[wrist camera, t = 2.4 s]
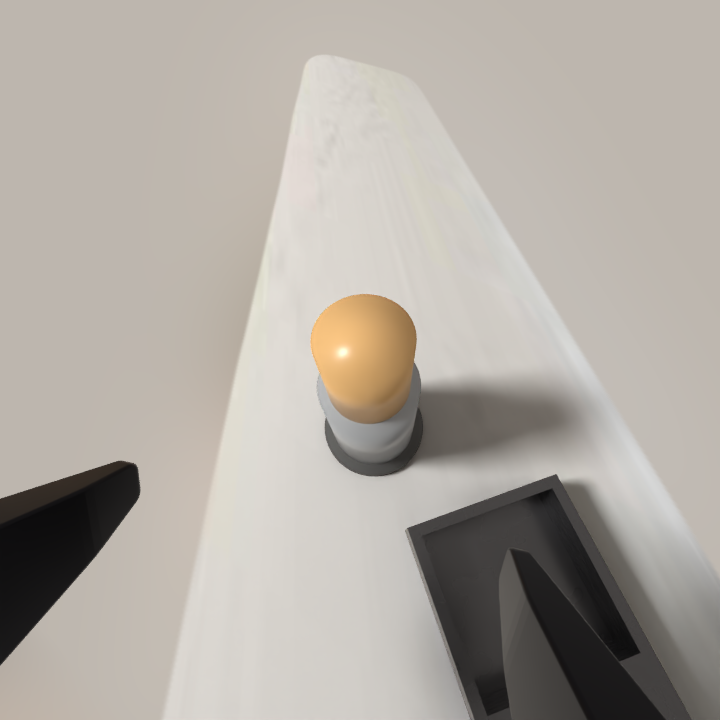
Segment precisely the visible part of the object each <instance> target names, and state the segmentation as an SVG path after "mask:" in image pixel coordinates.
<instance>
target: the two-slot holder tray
mask: <svg viewBox="0 0 720 720" xmlns="http://www.w3.org/2000/svg"><path fill="white" fill-rule="evenodd" d="M405 532H406V535H407V538H408V540H409V543H410V546H411V549H412V552H413V555H414V558H415V561H416V563H417V566H418V569H419V572H420V575H421V578H422V581H423V584H424V586H425V589H426V592H427V595H428V598H429V601H430V604H431V607H432V610H433V612H434V615H435V618H436V621H437V624H438V627H439V630H440V633H441V635H442V638H443V641H444V644H445V647H446V650H447V653H448V656H449V659H450V661H451V664H452V667H453V670H454V673H455V676H456V679H457V682H458V684H459V687H460V690H461V693H462V696H463V699H464V702H465V705H466V707H467V710H468V713H469V716H470V719H471V720H512V716H511V710H510V704H509V698H508V692H507V685H506V679H505V672H504V664H503V651H502V634H501V617H500V600H499V577H500V572H501V569H502V566H503V562H504V559H505V556H506V552H507V550H508V549H509V548H511V547H513V548H517V549H522V550H526V551H528V552H530V553H531V554H532V555H533V557H534V558H535V559H536V560H537V561H538V563H539V564H540V565H541V566H542V568H543V569H544V570H545V571H546V572H547V574H548V575H549V576H550V577H551V579H552V580H553V581H554V582H555V583H556V585H557V586H558V587H559V588H560V590H561V591H562V592H563V593H564V595H565V596H566V597H567V598H568V599H569V601H570V602H571V603H572V604H573V606H574V607H575V608H576V609H577V610H578V612H579V613H580V614H581V615H582V617H583V618H584V619H585V620H586V621H587V623H588V624H589V625H590V626H591V628H592V629H593V630H594V631H595V633H596V634H597V635H598V636H599V637H600V639H601V640H602V641H603V642H604V644H605V645H606V646H607V647H608V648H609V650H610V651H611V652H612V653H613V655H614V656H615V657H616V658H617V659H618V661H619V662H620V663H621V664H622V666H623V667H624V668H625V669H626V671H627V672H628V673H629V674H630V675H631V677H632V678H633V679H634V680H635V682H636V683H637V684H638V685H639V686H640V688H641V689H642V690H643V691H644V693H645V694H646V695H647V696H648V697H649V699H650V700H651V701H652V702H653V704H654V705H655V706H656V707H657V709H658V710H659V711H660V712H661V713H662V715H663V716H664V717H665V718H666V720H691V718H690V716H689V714H688V713H687V711H686V709H685V707H684V705H683V703H682V702H681V700H680V698H679V696H678V694H677V693H676V691H675V689H674V687H673V685H672V683H671V682H670V680H669V678H668V676H667V674H666V673H665V671H664V669H663V667H662V665H661V663H660V662H659V660H658V658H657V656H656V654H655V653H654V651H653V649H652V647H651V645H650V644H649V642H648V640H647V638H646V636H645V634H644V633H643V631H642V629H641V627H640V625H639V624H638V622H637V620H636V618H635V616H634V614H633V613H632V611H631V609H630V607H629V605H628V604H627V602H626V600H625V598H624V596H623V594H622V593H621V591H620V589H619V587H618V585H617V584H616V582H615V580H614V578H613V576H612V574H611V573H610V571H609V569H608V567H607V565H606V564H605V562H604V560H603V558H602V556H601V554H600V553H599V551H598V549H597V547H596V545H595V544H594V542H593V540H592V538H591V536H590V534H589V533H588V531H587V529H586V527H585V525H584V524H583V522H582V520H581V518H580V516H579V515H578V513H577V511H576V509H575V507H574V505H573V504H572V502H571V500H570V498H569V496H568V495H567V493H566V491H565V489H564V487H563V485H562V484H561V482H560V480H559V478H558V476H557V475H556V474H555V475H553V476H550V477H547V478H544V479H542V480H539V481H536V482H533V483H531V484H528V485H525V486H522V487H520V488H517V489H514V490H511V491H509V492H506V493H503V494H500V495H497V496H495V497H492V498H489V499H486V500H484V501H481V502H478V503H475V504H473V505H470V506H467V507H464V508H462V509H459V510H456V511H453V512H451V513H448V514H445V515H442V516H440V517H437V518H434V519H431V520H429V521H426V522H423V523H420V524H418V525H415V526H412V527H409V528H407V529H406V530H405Z"/></svg>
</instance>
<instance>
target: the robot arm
mask: <svg viewBox="0 0 720 720" xmlns="http://www.w3.org/2000/svg"><path fill="white" fill-rule="evenodd" d="M139 495H140V482H139V473H138V467H137V466H136V464H134V463H130V462H126V461H116V462H113V463H110V464H107V465H104V466H101V467H98V468H95V469H92V470H88V471H85V472H83V473H79V474H76V475H73V476H70V477H67V478H63V479H60V480H57V481H54V482H51V483H48V484H45V485H42V486H39V487H35V488H32V489H29V490H26V491H23V492H20V493H17V494H14V495H11V496H7V497H4V498H1V499H0V665H1V664H2V663H3V662H4V661H5V660H6V658H7V657H8V656H9V655H10V654H11V653H12V652H13V650H14V649H15V648H16V647H17V646H18V645H19V644H20V642H21V641H22V640H23V639H24V638H25V637H26V636H27V635H28V633H29V632H30V631H31V630H32V629H33V628H34V627H35V625H36V624H37V623H38V622H39V621H40V620H41V619H42V617H43V616H44V615H45V614H46V613H47V612H48V611H49V609H50V608H51V607H52V606H53V605H54V604H55V602H56V601H57V600H58V599H59V598H60V597H61V596H62V595H63V593H64V592H65V591H66V590H67V589H68V588H69V587H70V585H71V584H72V583H73V582H74V581H75V580H76V578H77V577H78V576H79V575H80V574H81V573H82V572H83V571H84V570H85V568H86V567H87V566H88V565H89V564H90V562H91V561H92V560H93V559H94V558H95V557H96V555H97V554H98V553H99V551H100V550H101V549H102V548H103V546H104V545H105V543H106V542H107V541H108V540H109V538H110V537H111V535H112V534H113V533H114V531H115V530H116V528H117V527H118V526H119V525H120V523H121V522H122V520H123V519H124V518H125V516H126V515H127V514H128V512H129V511H130V510H131V508H132V507H133V506H134V504H135V503H136V501H137V500H138V498H139ZM499 600H500V617H501V634H502V651H503V664H504V672H505V679H506V685H507V692H508V698H509V704H510V710H511V716H512V720H666V718H665V717H664V716H663V715H662V713H661V712H660V711H659V710H658V709H657V707H656V706H655V705H654V704H653V702H652V701H651V700H650V699H649V697H648V696H647V695H646V694H645V693H644V691H643V690H642V689H641V688H640V686H639V685H638V684H637V683H636V682H635V680H634V679H633V678H632V677H631V675H630V674H629V673H628V672H627V671H626V669H625V668H624V667H623V666H622V664H621V663H620V662H619V661H618V659H617V658H616V657H615V656H614V655H613V653H612V652H611V651H610V650H609V648H608V647H607V646H606V645H605V644H604V642H603V641H602V640H601V639H600V637H599V636H598V635H597V634H596V633H595V631H594V630H593V629H592V628H591V626H590V625H589V624H588V623H587V621H586V620H585V619H584V618H583V617H582V615H581V614H580V613H579V612H578V610H577V609H576V608H575V607H574V606H573V604H572V603H571V602H570V601H569V599H568V598H567V597H566V596H565V595H564V593H563V592H562V591H561V590H560V588H559V587H558V586H557V585H556V583H555V582H554V581H553V580H552V579H551V577H550V576H549V575H548V574H547V572H546V571H545V570H544V569H543V568H542V566H541V565H540V564H539V563H538V561H537V560H536V559H535V558H534V557H533V555H532V554H531V553H530V552H528V551H526V550H522V549H517V548H513V547H511V548H509V549H508V550H507V552H506V556H505V559H504V562H503V566H502V569H501V572H500V577H499Z"/></svg>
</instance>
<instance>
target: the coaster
mask: <svg viewBox="0 0 720 720" xmlns="http://www.w3.org/2000/svg"><path fill="white" fill-rule="evenodd" d="M422 430H423V424H422V417H421V413H420V410H419V408H418V407H417V412H416V417H415V422H414V427H413V432H412V436H411V439H410V442H409V444H408V446H407V447H406V448H405V450H404V451H403V452H402V453H401V454H400V455H399V456H398V457H396V458H395V459H393V460H391V461H389V462H386V463H383V464H364V463H361V462H358V461H356V460H354V459H352V458H351V457H349V456H348V455H347V454H346V453H345V452H344V451H343V450H342V448H341V447H340V445H339V444H338V442H337V440H336V437H335V435H334V433H333V431H332V429H331V427H330V424H329V422H328V420H327V418H326V420H325V435H326V440H327V443H328V446H329V448H330V450H331V452H332V453H333V455H334V456H335V458H336V459H337V460H338V461H339V462H340V463H341V464H342V465H343V466H345V467H346V468H348V469H349V470H351V471H353V472H355V473H358V474H361V475H366V476H382V475H386V474H390V473H392V472H395V471H397V470H398V469H400V468H402V467H403V466H404V465H406V464H407V463H408V462H409V461H410V460H411V459H412V457H413V456H414V454H415V453H416V451H417V449H418V447H419V444H420V441H421V437H422Z"/></svg>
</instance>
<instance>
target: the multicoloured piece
mask: <svg viewBox="0 0 720 720" xmlns="http://www.w3.org/2000/svg"><path fill="white" fill-rule="evenodd" d="M416 341H417V338H416V330H415V326H414V324H413V321H412V319H411V318H410V316H409V315H408V313H407V312H406V311H405V310H404V309H403V308H402V307H401V306H399V305H398V304H397V303H395V302H393V301H392V300H390V299H387V298H385V297H381V296H377V295H370V294H360V295H353V296H349V297H346V298H343V299H341V300H339V301H337V302H335V303H333V304H332V305H330V306H329V307H328V308H327V309H325V310H324V312H323V313H322V314H321V315H320V316H319V318H318V319H317V321H316V323H315V324H314V327H313V330H312V334H311V350H312V354H313V357H314V359H315V362H316V365H317V367H318V370H319V372H320V373H319V376H318V381H317V394H318V399H319V402H320V405H321V407H322V409H323V411H324V414H325V416H326V418H327V420H328V422H329V424H330V427H331V429H332V431H333V433H334V435H335V437H336V440H337V442H338V444H339V445H340V447H341V448H342V450H343V451H344V452H345V453H346V454H347V455H348V456H349V457H351V458H352V459H354V460H356V461H358V462H361V463H364V464H383V463H386V462H389V461H391V460H393V459H395V458H396V457H398V456H399V455H400V454H401V453H402V452H403V451H404V450H405V448H406V447H407V446H408V444H409V442H410V439H411V436H412V432H413V427H414V422H415V417H416V412H417V407H418V402H419V397H420V393H421V379H420V374H419V371H418V369H417V366H416V364H415V363H414V357H415V350H416Z"/></svg>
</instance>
